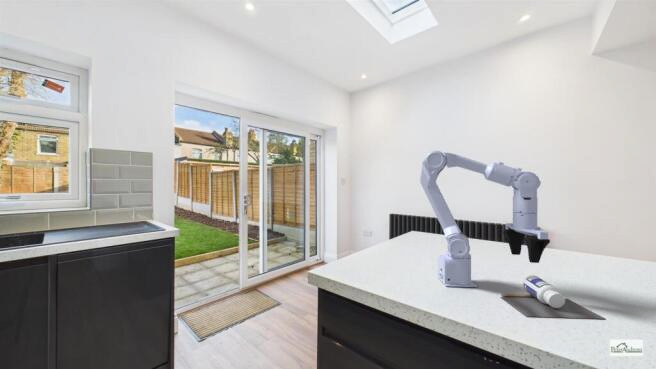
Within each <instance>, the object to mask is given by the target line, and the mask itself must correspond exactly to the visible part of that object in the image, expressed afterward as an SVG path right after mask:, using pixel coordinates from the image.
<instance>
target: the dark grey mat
mask: <svg viewBox="0 0 656 369" xmlns="http://www.w3.org/2000/svg"><path fill="white" fill-rule="evenodd" d="M500 294H501V296H500V299H502V300H503V301H504V302H506V303H507V304H508V305H510V306H511V307H512V308H514V309H515V310H516V311H518V312H519V313H520V314H522V315H523V316H524V317H526V318H546V319H547V318H549V319H551V318H552V319H576V320H577V319H579V320H580V319H581V320H606V317H603V316H601V315H599V314H598V313H596V312H594V311H592V310H590V309H588V308H586V307H585V306H583V305H581V304H579V303H576V302H575V301H573V300H571V299H569V298H565V303H564V305H563V306H562V307H560V308H553V307H551V306H550V305H548V304H544V303H542V302H540V301H539V300H537V299H536V298H535V297H533V296H532V295H531V294H529V293H528V294H527V293H525V294H523V293H522V294H521V293H500Z"/></svg>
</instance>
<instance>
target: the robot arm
mask: <svg viewBox="0 0 656 369" xmlns="http://www.w3.org/2000/svg"><path fill="white" fill-rule="evenodd" d="M421 165H422V166H421V173H420V178H419V183H420V185H421V187H422V189H423V191H424V193H425V195H426V198H427V199H428V201H429V203H430V205H431V206H430V207H432V210H433V212H434V214H435V216H436V218H437V221H438V222H439V224H440V226H441V229H442V231H443V234H444V237H445V239H446V241H447V251H446V252H445V254H440V255H439V256H438V258H437V260H438V261H437V276H436V277H437V279H439V280H440V282H442V284H443V285H444V286H445V287H452V288H453V287H455V288H456V287H458V288H460V287H461V288H462V287H463V288H477V287H478V285H477V284H475V283H474V282H473V281H472V254H470V251H471V246H470V241H469V238H468V236H467V235H465V234H464V233H463V232H462V231H461V228H460V227H459V225H458V224H457V222H456V220H455V217H454V216H453V213H452V212H451V210H450V208H449V206H448V203H447V201H446V199H445V198H444V195H443V193H442V192H441V189H440V188H439V185H438V183H437V180H438V178H439V175H440V174H441V172H442V171H443V170H444V169H445V168H446V167H447V168H448V169H449V168H456V167H457V168H461V169H464V170H468V171H472V172H475V173H478V174H481V175H483V176H484V178H485V180H486V181H489V182H492V183H495V184H499V185H501V186H504V187H508V188H509V187H512V188H513V196H512V222H511V223H510V222H508V223H507V222H505V230H504V231H502V232H503V235H504V236H505V238H506V240H507V242H508V246H509V248H510V252H511V255H512V256H515V255H516V256H519V255H521V253H522V246H523V241H525V242H524V243H525V244H526V247H527V255H528V261H529V263H531V264H532V263H533V264H539V263H540V261H541V257H542V255H543V253H544V250H546V247H547V246H548V245H549V244H550V243H551V239H549V232H548V231H544V230H543V229H542V227H540V226H538V204H539V203H538V189H539V188H540V186H541V185H542V184H541V183H542V181H541V180H540V178H539V176H538V175H537V174H535V173H534V172H531V171H522V168H521V167H517V168H516V167H515V168H514V167H511V166H508V165H505V164H504V162H502V161H498V162H491V163H489V164H486V163H483V162H480V161H477V160H474V159H470V158H469V157H466V156H461V155H458V154H456V153H452V152H451V153H450V152H442V151H441V150H431V151H430V152H428V153H427V154H426V155H425V157H424V159H423V160H422V163H421ZM525 235H527V236H525Z"/></svg>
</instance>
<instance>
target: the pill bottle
mask: <svg viewBox="0 0 656 369" xmlns="http://www.w3.org/2000/svg"><path fill="white" fill-rule="evenodd" d="M521 282H522V286H521V287H522V288H523V290H524V291H525V292H527V293H528V294H531V295H532V296H533V297H535V298H536V299H537V300H539V301H540V302H542V303H544V304H548V305H550V306H551V307H553V308H560V307H562V306H563V305H564V303H565V299H566V298H565V296H564V295H562V294H561V293H560V292H559V290H558V289H557V288H556V287H555V286H553V285H552V284H550V283H548V282H547V281H545V280H544V279H542V278H541V277H539V276H537V275H534V274H533V275H532V274H531V275H527V276H525V278H523V280H522V281H521Z"/></svg>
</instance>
